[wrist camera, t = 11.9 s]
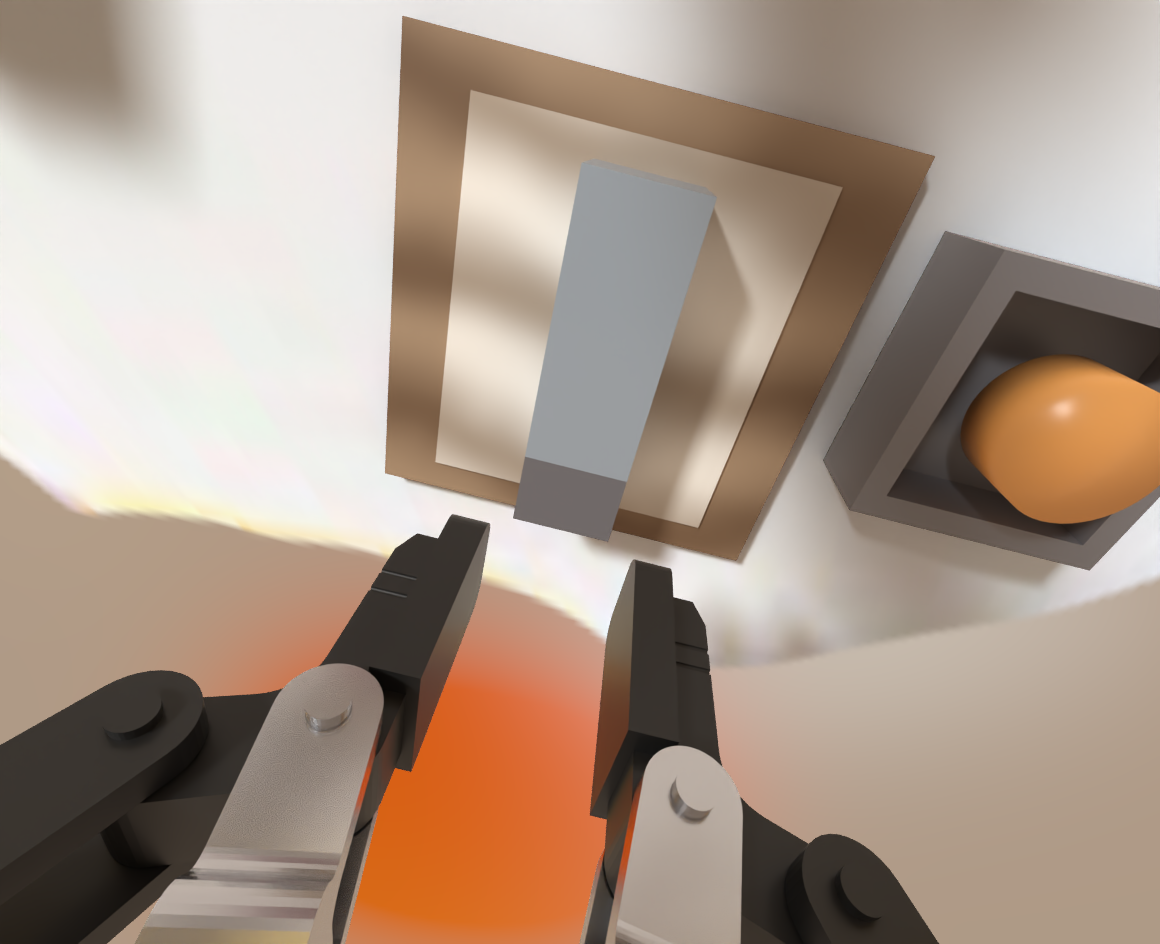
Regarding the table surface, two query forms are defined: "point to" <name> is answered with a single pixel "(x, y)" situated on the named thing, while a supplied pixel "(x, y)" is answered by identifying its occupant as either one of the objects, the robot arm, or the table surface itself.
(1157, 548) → the table surface
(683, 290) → the grey rectangular block
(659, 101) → the picture frame
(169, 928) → the robot arm
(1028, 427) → the button cap
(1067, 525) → the button housing
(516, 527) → the table surface
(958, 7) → the table surface
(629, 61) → the table surface
